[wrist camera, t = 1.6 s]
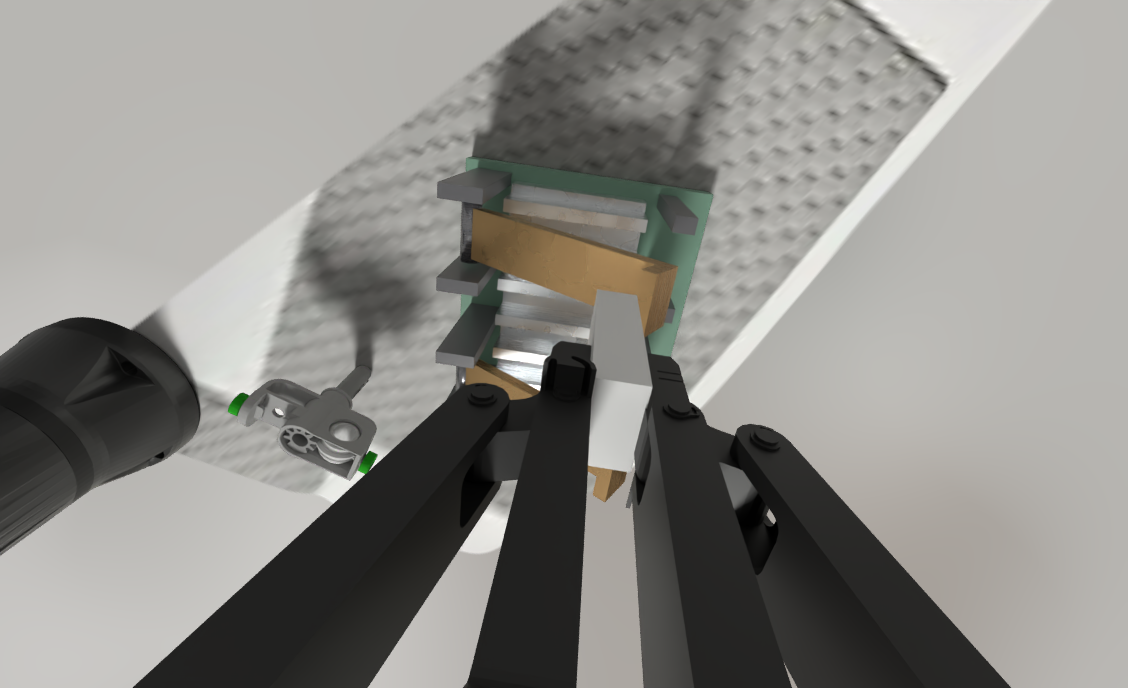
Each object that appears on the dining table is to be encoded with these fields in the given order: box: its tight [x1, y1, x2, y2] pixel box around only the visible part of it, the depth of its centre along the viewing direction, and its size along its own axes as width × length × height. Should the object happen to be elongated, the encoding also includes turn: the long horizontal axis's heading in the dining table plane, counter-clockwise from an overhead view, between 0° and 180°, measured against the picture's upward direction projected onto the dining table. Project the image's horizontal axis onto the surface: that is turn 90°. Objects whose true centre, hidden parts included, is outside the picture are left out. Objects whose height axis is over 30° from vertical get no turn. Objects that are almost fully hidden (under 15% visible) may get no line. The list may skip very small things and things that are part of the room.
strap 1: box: [460, 202, 678, 338], centre depth 24 cm, size 14×4×2 cm
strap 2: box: [456, 359, 627, 502], centre depth 29 cm, size 14×4×2 cm
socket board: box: [461, 157, 713, 365], centre depth 36 cm, size 17×17×2 cm
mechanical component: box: [228, 366, 378, 481], centre depth 37 cm, size 3×10×10 cm, turn 61°
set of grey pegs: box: [436, 168, 699, 399], centre depth 31 cm, size 14×16×8 cm
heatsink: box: [492, 181, 648, 390], centre depth 33 cm, size 9×15×4 cm, turn 172°
